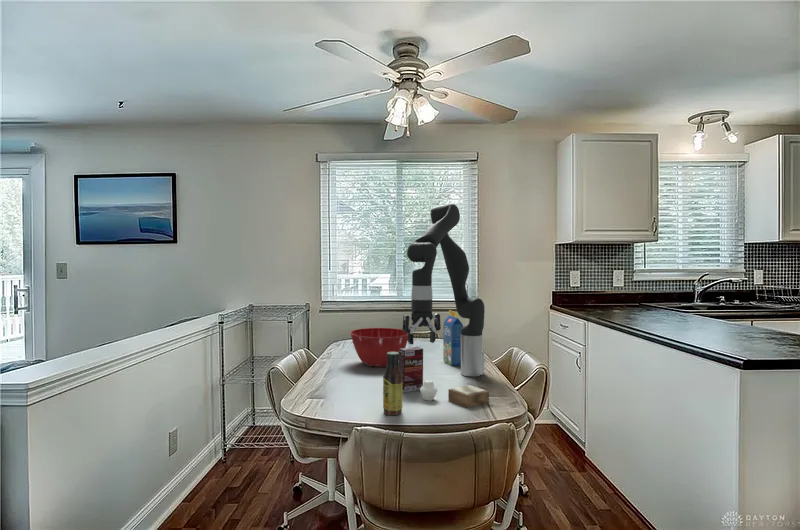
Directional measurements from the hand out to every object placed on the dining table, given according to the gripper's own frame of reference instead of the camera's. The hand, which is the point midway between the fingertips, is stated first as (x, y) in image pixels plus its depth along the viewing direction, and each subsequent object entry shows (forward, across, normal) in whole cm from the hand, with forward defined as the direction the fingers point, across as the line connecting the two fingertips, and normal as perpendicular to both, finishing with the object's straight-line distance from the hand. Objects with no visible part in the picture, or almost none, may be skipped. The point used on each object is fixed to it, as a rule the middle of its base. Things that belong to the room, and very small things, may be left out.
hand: (421, 343), depth 178 cm
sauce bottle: (+20, +16, +11) cm, 28 cm away
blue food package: (+20, -41, -46) cm, 65 cm away
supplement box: (+20, -2, -12) cm, 23 cm away
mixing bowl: (+20, -9, -59) cm, 63 cm away
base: (+20, -13, +11) cm, 26 cm away
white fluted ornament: (+20, -2, +2) cm, 20 cm away
